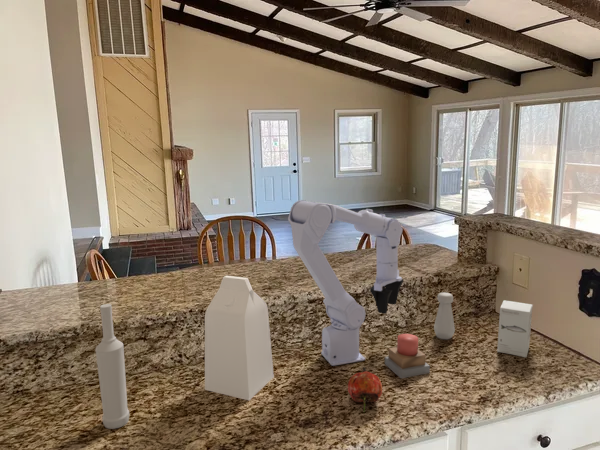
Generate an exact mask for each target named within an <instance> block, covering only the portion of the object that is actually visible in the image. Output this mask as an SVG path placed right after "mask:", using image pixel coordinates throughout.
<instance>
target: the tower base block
mask: <svg viewBox="0 0 600 450" xmlns="http://www.w3.org/2000/svg"><path fill="white" fill-rule="evenodd" d="M384 364H385V366H386V367H388V368H389V369H390V370H391V372H393V373H395V375H396V376H397V377H399V379H405V378H411V377H415V376H420V375H426V374H430V371H431V370H430V369H431V366H430V365H429V364H428V363H427V362H426V361H425V365H420V366H415V367H410V368H405V369H402V368H401V367H399V366H398V365H397V364H396V363H395V362H393V361H392V360H391V359H390V358H389V355H388V356H384Z"/></svg>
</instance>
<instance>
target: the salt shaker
mask: <svg viewBox="0 0 600 450" xmlns="http://www.w3.org/2000/svg"><path fill="white" fill-rule="evenodd" d="M437 302H439V305H438V309H437V312H436V313H437V314H436V317H435V322H434V326H433V330H434V333H435V335H436V338H437V339H440V340H450V339H452V338H453V336H454V334H455V331H456V329H455V322H454V315H453V309H452V303H453V302H454V296H453V294H452V293H449V292H444V291H443V292H439V293H438V294H437Z"/></svg>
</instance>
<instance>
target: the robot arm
mask: <svg viewBox="0 0 600 450" xmlns="http://www.w3.org/2000/svg"><path fill="white" fill-rule="evenodd" d="M287 220H288V222H289V224H290V227H291V233H292V234H291V235H292V243H293V244H292V245H293V248H294V250H295V252H296V254H297V255H298V256H299V258H300V259H301V261H302V262H303V265H304V266H305V268H306V269H307V270H308V273H309V275H310V276H311V277H312V279H313V281H314V282H315V284H316V285H317V287H318V288H319V290H320V292H321V293H322V294H323V295H322V296H323V297H324V299H323V301H322V302H323V304H324V306H325V313H326V315H327V316H328V318H330V323H331V324H330V325H328V326H326V327H323V328H322V330H321V349H322V350H321V352H320V354H321V355H322V356H323V357H324V359H325V360H326V361H327V362H328V363H329V364H330V366H333V367H334V366H340V365H341V366H342V365H345V364H346V365H347V364H350V363H357V362H363V361H365V360H366V357H364V355H362V353H360V328H361V327H362V325H363V323H364V321H365V320H366V310H365V308H364V306H362V305H361V304H359V303H358V302H357V301H356V299H355V298H354V297H353V296H352V295H350V293H348V292H347V291H346V290H345V288H344V287H343V285H342V283H341V281H340V280H339V277H338V276H337V275H336V272H335V271H334V269H333V268H332V266H331V264H330V263H329V261H328V258H327V257H326V256H325V254H324V253H323V250H322V249H321V248H320V245H319V242H321V240H322V238H323V236H324V235H325V233H326V232H327V230H328V228H329V226H330V224H334V223H335V221H338V222H343V223H345V224H350V225H353V226H354V229H355V230H356V231H358V232H360V233H363V234H367V235H371V236H373V237H375V238H376V239H375V240H376V241H375V244H376V245H375V246H376V249H375V250H376V252H375V253H376V254H375V255H376V276H375V281H374V283H373V286H371V287H370V289H369V291H370V294H371V295H372V297H373V298H374V300H375V301H374V302H375V304H376V308H377V309H376V310H377V312H378V313H379V314H383V315H384V314H387V312H388V308H389V305H394V306H395V305H396V304H397V301H398V297H399V292H400V290H401V286H402V285H403V283H404V279H403V277H402V276H400V269H399V267H398V266H399V265H398V264H399V263H398V261H399V259H398V258H399V256H398V255H399V252H398V248H399V247H398V246H399V244H400V238H401V236H402V234H403V231H404V229H403V227H402V225H401V223H400V221H399V220H398V219H396V218H393V217H386V214H384V213H379V214H378V213H376V212H374V210H373V209H370V208H366V209H362V210H359V211H358V212H356V211H354V210H351V209H349V208H348V209H347V208H344V207H342V206H340V205H337V204H331V203H326V202H318V201H317V202H316V201H307V200H306V199H305V200H304V199H300V200H297V201H295V202H294V203H293V204H292V205H291V208H290V211H289V214H288V217H287Z"/></svg>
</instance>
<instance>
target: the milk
mask: <svg viewBox="0 0 600 450" xmlns="http://www.w3.org/2000/svg"><path fill="white" fill-rule="evenodd" d="M269 319H270V318H269V307H268V304H267V303H266V301H265V300H264V299H263V298H262V297H261V296H260V295H258V293H257V292H255V291H254V290H253V287H252V284H251V283H250V280H249V278H248V277H242V276H236V275H235V276H233V275H225V276H223V277H222V279H221V282H220V284H219V288H218V290H217V292H215V294H214V296H213V298H212V299H211V301H210V303H209V305H208V307H207V309H206V310H205V314H204V390H205V391H208V392H212V393H213V392H214V393H217V394H219V395H220V394H222V395H225V396H228V397H229V396H230V397H234V398H236V399H237V398H238V399H241V400H245V401H251V400H252V398H254V397H255V396H256V395H257V394H258V393H259V392H260V391H261V390H262V389H263V388H265V387H266V386H267V384H268V383H269V382H271V380H272V379H274V378H275V376H274V374H275V373H274V363H273V362H274V361H273V354H272V353H273V352H272V343H271V342H272V340H271V330H270V329H271V328H270V320H269Z"/></svg>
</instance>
